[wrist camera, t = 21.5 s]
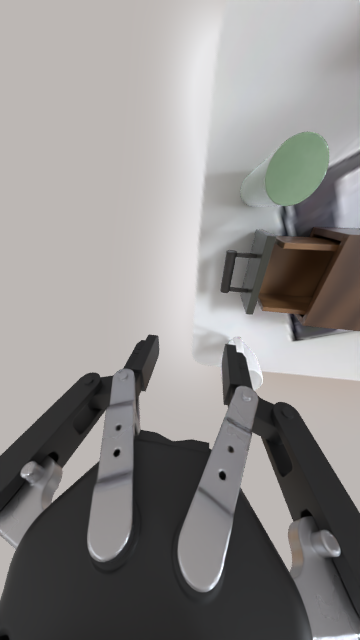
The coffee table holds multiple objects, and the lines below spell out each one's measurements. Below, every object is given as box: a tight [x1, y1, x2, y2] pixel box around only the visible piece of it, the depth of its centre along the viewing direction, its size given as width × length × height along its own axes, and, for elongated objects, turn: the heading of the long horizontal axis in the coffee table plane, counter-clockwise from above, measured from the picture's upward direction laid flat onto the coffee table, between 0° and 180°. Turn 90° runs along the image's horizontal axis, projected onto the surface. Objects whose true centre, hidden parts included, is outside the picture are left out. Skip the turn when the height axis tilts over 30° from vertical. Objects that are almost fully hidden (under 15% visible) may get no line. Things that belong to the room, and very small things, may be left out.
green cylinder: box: [240, 132, 329, 206], centre depth 20 cm, size 5×5×16 cm
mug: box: [221, 337, 263, 391], centre depth 39 cm, size 12×8×11 cm
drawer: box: [220, 230, 341, 315], centre depth 29 cm, size 18×13×7 cm
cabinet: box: [294, 227, 360, 331], centre depth 28 cm, size 15×14×9 cm
